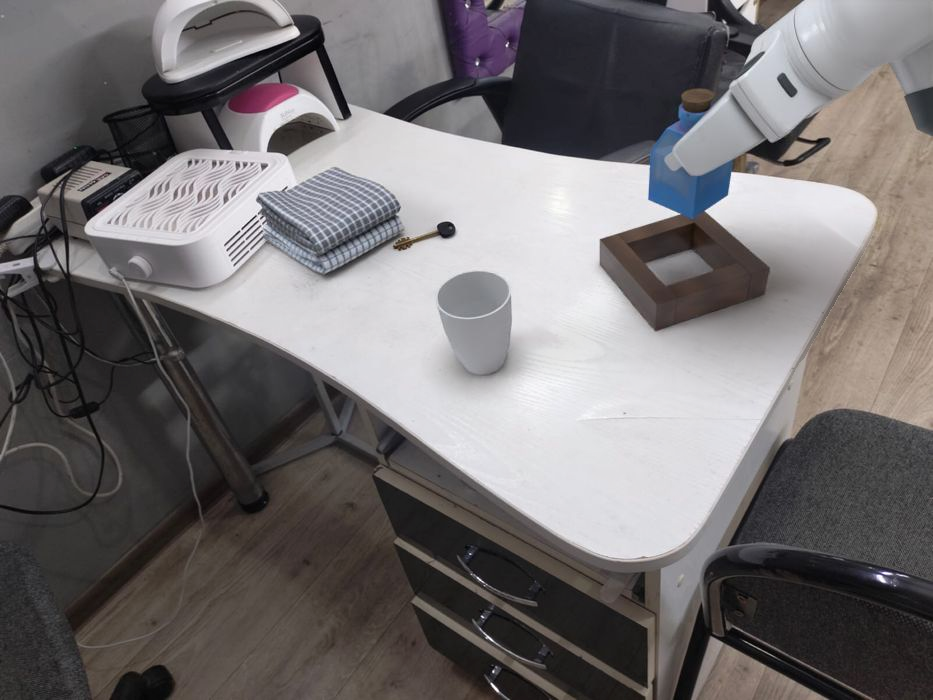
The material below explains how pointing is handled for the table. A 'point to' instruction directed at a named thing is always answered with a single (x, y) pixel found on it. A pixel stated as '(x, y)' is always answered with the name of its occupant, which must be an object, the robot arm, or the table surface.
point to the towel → (330, 219)
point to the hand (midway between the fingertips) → (687, 145)
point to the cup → (477, 318)
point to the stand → (693, 297)
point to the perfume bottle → (678, 185)
